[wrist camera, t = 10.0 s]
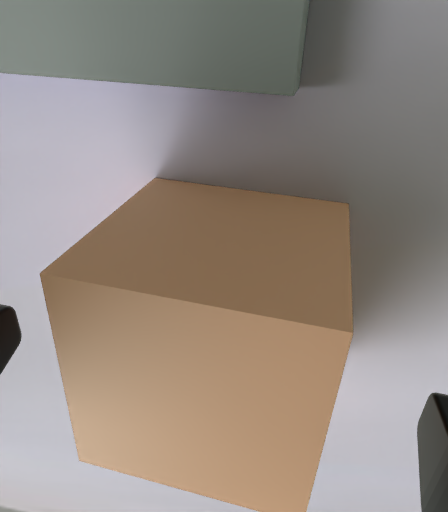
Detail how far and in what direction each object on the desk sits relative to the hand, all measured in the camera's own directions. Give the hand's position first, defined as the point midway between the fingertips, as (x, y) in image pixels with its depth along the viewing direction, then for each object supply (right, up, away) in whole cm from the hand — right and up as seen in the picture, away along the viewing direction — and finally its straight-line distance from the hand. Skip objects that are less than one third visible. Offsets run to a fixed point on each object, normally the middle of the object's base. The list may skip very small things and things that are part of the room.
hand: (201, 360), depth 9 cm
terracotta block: (+1, +2, +3) cm, 4 cm away
